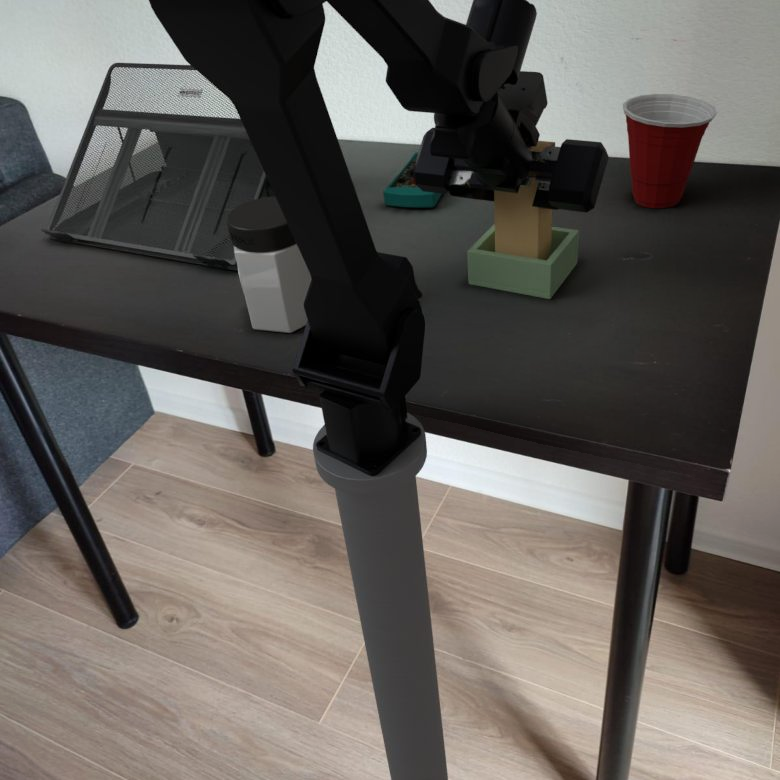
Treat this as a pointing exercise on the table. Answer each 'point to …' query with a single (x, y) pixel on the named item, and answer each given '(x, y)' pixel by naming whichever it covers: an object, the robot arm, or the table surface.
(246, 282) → the jar
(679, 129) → the plastic cup
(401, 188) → the digital multimeter
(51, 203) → the table surface
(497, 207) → the tan rectangular block
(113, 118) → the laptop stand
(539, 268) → the sage green storage bin
